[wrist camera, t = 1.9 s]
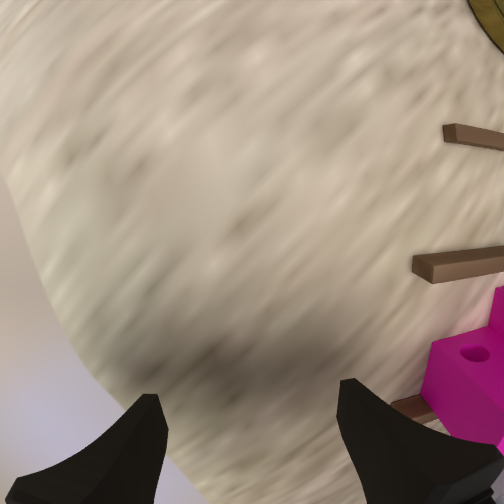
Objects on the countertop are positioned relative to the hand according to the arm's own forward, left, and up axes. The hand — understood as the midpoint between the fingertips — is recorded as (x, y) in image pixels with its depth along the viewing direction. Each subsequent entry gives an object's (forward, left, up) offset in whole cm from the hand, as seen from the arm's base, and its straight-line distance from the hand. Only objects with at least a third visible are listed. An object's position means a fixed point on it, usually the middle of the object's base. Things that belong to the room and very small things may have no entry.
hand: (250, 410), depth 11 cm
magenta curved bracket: (-1, -18, -4) cm, 18 cm away
